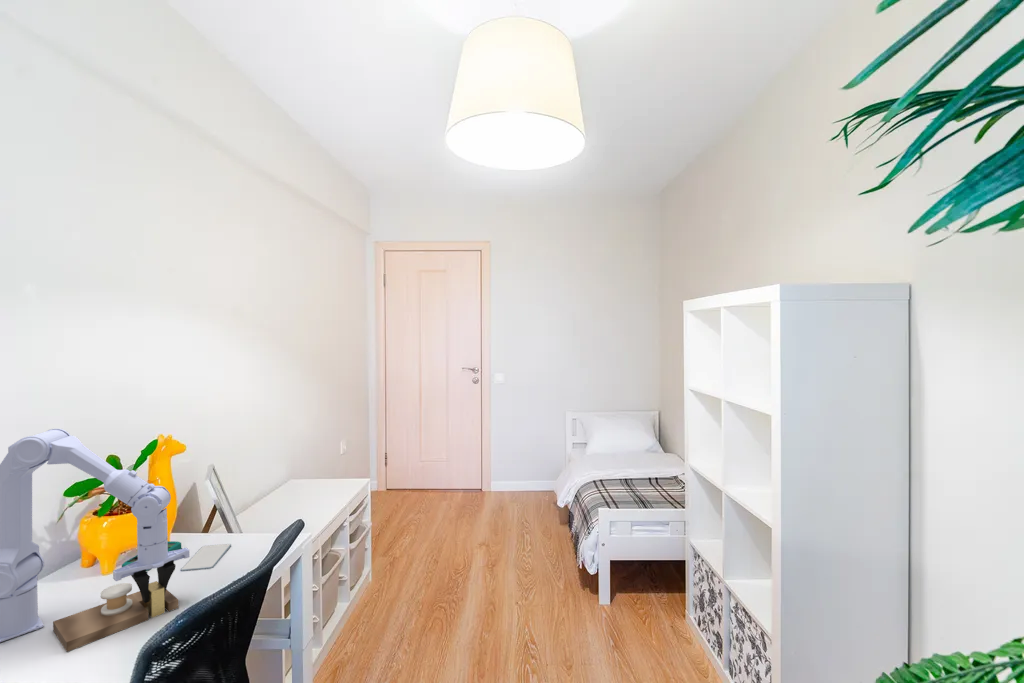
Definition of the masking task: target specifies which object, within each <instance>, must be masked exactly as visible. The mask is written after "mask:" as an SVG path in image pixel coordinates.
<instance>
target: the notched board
mask: <svg viewBox="0 0 1024 683" xmlns="http://www.w3.org/2000/svg"><path fill="white" fill-rule="evenodd" d="M127 599H131V600H132V606H131V607H130V608H129V609H128V610H126V611H124V612H122V613H119V614H115V615H110V616H104V615H102V614H101V608H102V607H103V606H104V605H106V604H107V602H105V603H102V604H99V605H95V606H94V607H90V608H87V609H85V610H82V611H79V612H76V613H73V614H71V615H68V616H65V617H62V618H60V619H57V620H54V621H52V624H53V625H52V629H53V633H54V634H55V636H56V637H57V639H58V640H59V642H60V644H61V645H62V647H63V648H64V651H66V652H70V651H73V650H75V649H78V648H80V647H83V646H85V645H87V644H90V643H93V642H96V641H98V640H100V639H103V638H106V637H108V636H111V635H114V634H116V633H119V632H121V631H124V630H126V629H128V628H131V627H134V626H136V625H139V624H141V623H143V622H146V621H148V620H149V614H148V610H147V609H146V608H145V607H144V601H142V596H141V592H140V590H138V591H136V592H133V593H130V594H128V595H127ZM164 604H165V608H166V609H167V610H168V611H167V610H166V609H165V610H166V611H167V612H171V611H170V610H172V611H174V610H176V608H177V609H179V608H180V607H179V606H180V605H179V598H177V597H176V596H175V595H174V594H173V593H171V591H169V590H168V589H167V588H166V592H165V596H164ZM173 609H174V610H173Z"/></svg>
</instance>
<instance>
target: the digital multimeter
mask: <svg viewBox="0 0 1024 683" xmlns="http://www.w3.org/2000/svg"><path fill="white" fill-rule="evenodd" d="M179 549H182V542H180V541H171V540H170V541H169V540H168V552H170V551H174V550H179ZM135 561H138V554H136V555H134V556H133V557H132V558H129V559H128V560H126V561H125V562H123V563H122V564H121V568H122V567H124V566H126V565H129V564H131V563H133V562H135ZM150 570H151V569H149V570H146V572H148V571H150Z"/></svg>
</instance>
